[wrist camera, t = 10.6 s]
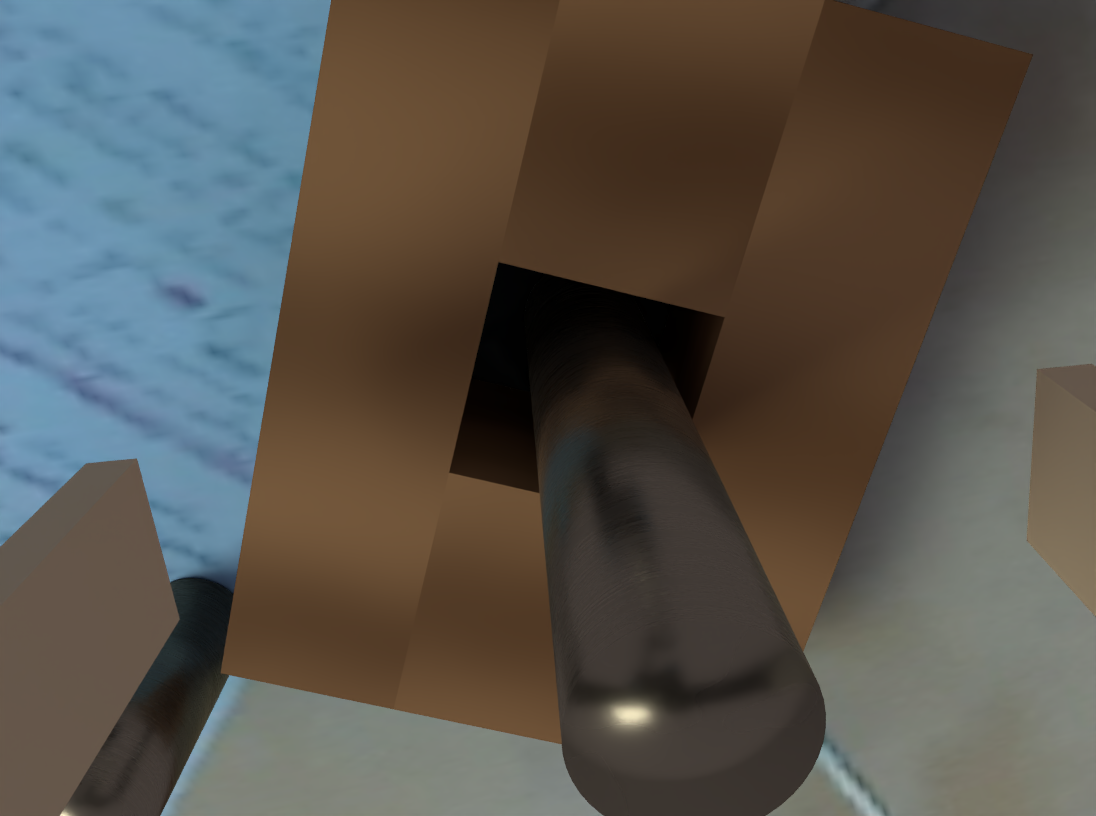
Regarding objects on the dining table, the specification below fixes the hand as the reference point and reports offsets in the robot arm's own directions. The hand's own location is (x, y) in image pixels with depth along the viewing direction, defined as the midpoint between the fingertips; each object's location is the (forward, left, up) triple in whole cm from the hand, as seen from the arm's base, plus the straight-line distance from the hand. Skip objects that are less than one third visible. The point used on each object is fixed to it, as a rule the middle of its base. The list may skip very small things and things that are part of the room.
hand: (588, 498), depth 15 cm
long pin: (0, 0, -11) cm, 11 cm away
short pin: (+11, -8, -11) cm, 18 cm away
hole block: (0, 0, -11) cm, 11 cm away
